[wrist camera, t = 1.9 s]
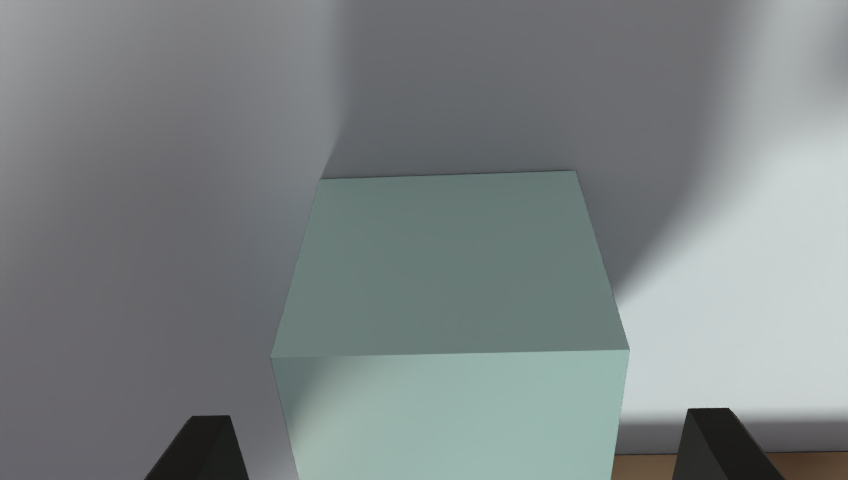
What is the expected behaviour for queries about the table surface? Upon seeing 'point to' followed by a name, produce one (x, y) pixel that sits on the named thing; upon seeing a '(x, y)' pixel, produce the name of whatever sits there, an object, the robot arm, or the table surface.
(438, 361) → the mint green cube
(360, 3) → the table surface
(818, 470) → the stub board
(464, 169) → the table surface
